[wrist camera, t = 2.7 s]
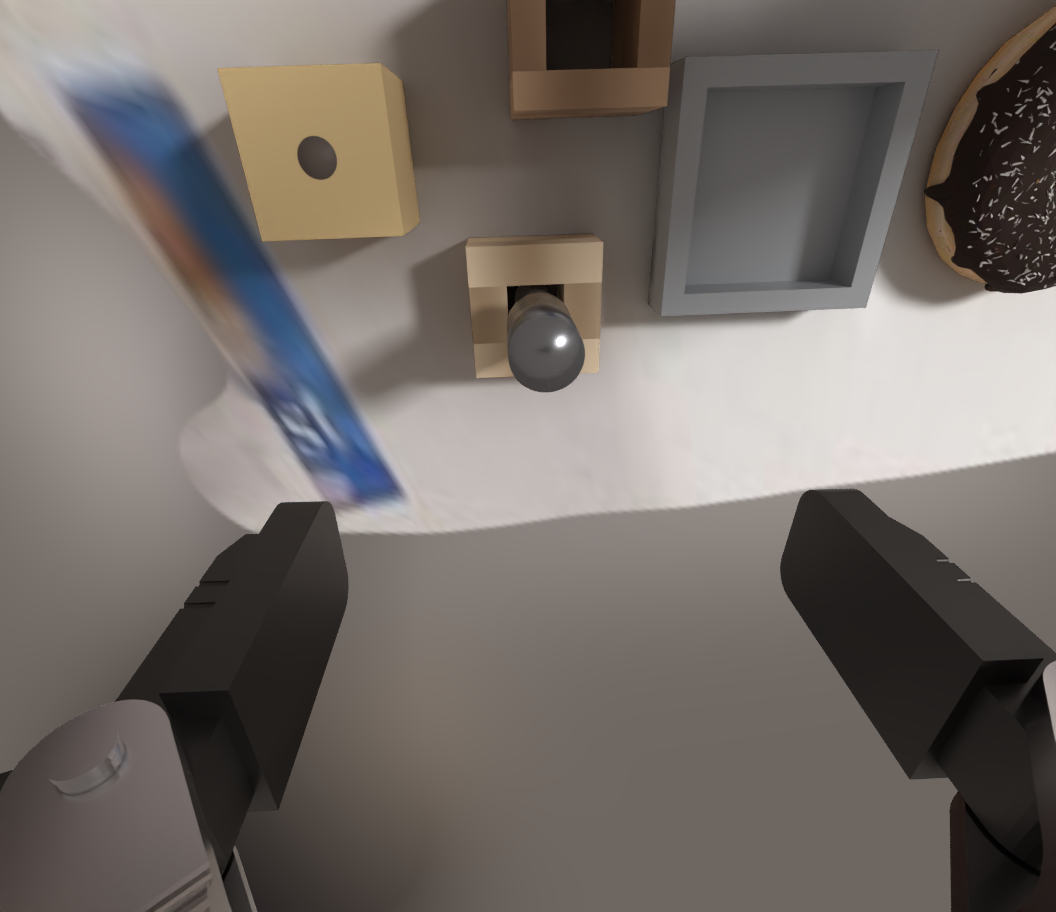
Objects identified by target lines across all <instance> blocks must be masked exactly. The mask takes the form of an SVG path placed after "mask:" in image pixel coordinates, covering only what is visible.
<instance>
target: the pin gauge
mask: <svg viewBox="0 0 1056 912" xmlns="http://www.w3.org/2000/svg"><path fill="white" fill-rule="evenodd" d="M507 345H508V360H509V366H510V369H511V371H512V373H513V375H514V377H515V378H516V379H517V380H518V381H519V382H520V383H521V384H522V385H524V386H525V387H527V388H529V389H531V390H534V391H538V392H553V391H557V390H560V389H562V388H564V387H566V386H568V385H569V384H570V383H572V382H573V381H574V380H575V379H576V378H577V376H578V375H579V373H580V371H581V370H582V367H583V364H584V360H585V348H584V344H583V340H582V338H581V336H580V334H579V332H578V330H577V328H576V325H575V323H574V321H573V319H572V317H571V315H570V313H569V310H568V308H567V307H566V305H565V304H564V303H563V302H562V301H561V300H560V299H559V298H557V297H555V296H553V295H551V294H549V291H548V289H547V288H546V286H545V285H522V286H520V287H519V288H518V289H517V291H516V294H515V304H514V306H513V307H512V308H511V310H510V312H509V315H508V318H507Z"/></svg>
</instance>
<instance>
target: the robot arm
mask: <svg viewBox="0 0 1056 912" xmlns="http://www.w3.org/2000/svg"><path fill="white" fill-rule="evenodd" d="M780 572H781V580H782V584H783V587H784V590H785V592H786V594H787V596H788V598H789V599H790V601H791V602H792V604H793V605H794V607H795V608H796V610H797V611H798V612H799V614H800V616H801V617H802V619H803V620H804V622H805V623H806V625H807V626H808V628H809V629H810V631H811V632H812V634H813V635H814V637H815V638H816V640H817V641H818V643H819V644H820V646H821V647H822V649H823V650H824V652H825V653H826V655H827V656H828V657H829V659H830V661H831V662H832V664H833V665H834V666H835V668H836V669H837V671H838V673H839V674H840V676H841V677H842V679H843V680H844V682H845V683H846V685H847V686H848V688H849V689H850V690H851V692H852V694H853V695H854V697H855V698H856V700H857V701H858V703H859V704H860V705H861V707H862V709H863V710H864V712H865V713H866V715H867V716H868V718H869V719H870V721H871V722H872V724H873V725H874V726H875V728H876V729H877V731H878V732H879V734H880V736H881V737H882V739H883V740H884V742H885V743H886V744H887V746H888V748H889V749H890V751H891V752H892V754H893V755H894V756H895V758H896V760H897V761H898V762H899V764H900V766H901V767H902V769H903V770H904V772H905V773H906V774H907V776H908V777H909V779H928V778H946V777H948V778H949V779H950V781H951V782H952V783H953V785H954V786H955V787H956V789H957V790H958V792H957V793H956V794H955V796H954V797H953V799H952V801H951V803H950V811H949V814H950V881H951V882H950V883H951V884H950V885H951V912H1056V653H1055V652H1054V651H1053V650H1052V649H1051V648H1050V647H1048V646H1047V645H1046V644H1045V643H1044V642H1043V641H1042V640H1041V639H1039V638H1038V637H1037V636H1036V635H1035V634H1034V633H1033V632H1031V631H1030V630H1029V629H1028V628H1027V627H1026V626H1025V625H1024V624H1022V623H1021V622H1020V621H1019V620H1018V619H1017V618H1016V617H1014V616H1013V615H1012V614H1011V613H1010V612H1009V611H1008V610H1006V609H1005V608H1004V607H1003V606H1002V605H1001V604H1000V603H999V602H997V601H996V600H995V599H994V598H993V597H992V596H991V595H990V594H988V593H987V592H986V591H985V590H984V589H983V588H982V587H980V586H979V585H978V584H977V583H971V581H970V577H969V576H968V575H967V574H966V573H965V572H963V571H962V570H961V569H960V568H959V567H958V566H957V565H955V564H954V563H949V561H948V558H947V557H946V556H945V555H944V554H943V553H942V552H941V551H940V550H939V549H937V548H936V547H935V546H934V545H933V544H932V543H931V542H929V541H928V540H927V539H926V538H925V537H924V536H923V535H921V534H919V533H917V532H915V531H913V530H912V529H910V528H908V527H906V526H905V525H903V524H901V523H899V522H897V521H896V520H894V519H892V518H890V517H888V516H887V515H886V514H885V513H884V512H883V511H882V510H881V509H880V508H879V507H877V506H876V505H875V504H874V503H873V502H872V501H871V500H870V499H869V498H868V497H867V496H865V495H864V494H863V493H862V492H861V491H859V490H857V489H825V490H808V491H806V492H805V493H804V494H803V495H802V496H801V498H800V500H799V503H798V506H797V510H796V513H795V516H794V519H793V523H792V526H791V529H790V532H789V536H788V539H787V542H786V546H785V549H784V552H783V555H782V559H781V566H780ZM347 599H348V573H347V568H346V564H345V559H344V555H343V549H342V545H341V540H340V535H339V531H338V526H337V521H336V516H335V512H334V509H333V507H332V505H331V503H330V502H328V501H323V502H285V503H280V504H278V505H277V507H276V508H275V509H274V511H273V513H272V514H271V516H270V517H269V519H268V520H267V522H266V524H265V525H264V527H263V528H262V530H261V531H260V533H259V534H246V535H244V536H243V537H241V538H240V539H239V540H238V541H236V542H235V543H234V544H232V545H231V546H230V547H228V548H227V549H226V550H225V551H223V552H222V553H221V554H219V555H218V556H217V557H216V559H215V560H214V561H213V563H212V564H211V566H210V567H209V569H208V570H207V571H206V573H205V574H204V576H203V577H202V579H201V580H200V585H199V587H195V589H194V590H193V591H192V593H191V594H190V596H189V597H188V598H187V600H186V601H185V603H184V609H180V610H179V611H178V613H177V614H176V615H175V617H174V618H173V620H172V621H171V623H170V624H169V625H168V627H167V628H166V630H165V631H164V633H163V634H162V636H161V637H160V639H159V640H158V641H157V643H156V644H155V645H154V647H153V648H152V650H151V651H150V653H149V654H148V655H147V657H146V658H145V660H144V661H143V662H142V664H141V665H140V667H139V668H138V670H137V671H136V673H135V674H134V675H133V677H132V678H131V680H130V681H129V682H128V684H127V685H126V687H125V688H124V690H123V691H122V693H121V694H120V695H119V697H118V698H117V699H116V701H115V702H113V703H108V704H105V705H102V706H98V707H96V708H93V709H91V710H89V711H86V712H84V713H82V714H80V715H78V716H76V717H74V718H73V719H71V720H69V721H67V722H66V723H64V724H62V725H61V726H59V727H58V728H56V729H55V730H53V731H52V732H51V733H49V734H48V735H47V736H45V737H44V738H43V739H42V740H40V741H39V742H38V743H37V744H36V745H35V746H34V747H33V748H32V749H30V750H29V751H28V753H27V754H26V755H25V756H24V757H23V758H22V759H21V760H20V761H19V762H18V764H17V765H16V766H15V768H14V769H13V770H11V771H8V772H4V773H1V774H0V912H257V910H256V907H255V904H254V901H253V898H252V895H251V892H250V888H249V885H248V882H247V879H246V876H245V873H244V870H243V867H242V864H241V861H240V858H239V854H238V851H237V849H236V847H235V843H236V840H237V838H238V835H239V832H240V830H241V827H242V825H243V822H244V819H245V817H246V814H247V812H255V811H274V810H279V807H280V804H281V801H282V798H283V795H284V792H285V789H286V786H287V783H288V780H289V777H290V774H291V771H292V768H293V765H294V762H295V759H296V756H297V753H298V750H299V747H300V744H301V741H302V738H303V735H304V732H305V729H306V726H307V723H308V720H309V717H310V714H311V711H312V708H313V705H314V702H315V699H316V696H317V693H318V690H319V687H320V684H321V681H322V678H323V675H324V672H325V669H326V666H327V663H328V660H329V657H330V654H331V651H332V648H333V645H334V642H335V639H336V636H337V633H338V630H339V627H340V624H341V621H342V618H343V615H344V612H345V609H346V605H347Z"/></svg>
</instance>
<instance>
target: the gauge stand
mask: <svg viewBox="0 0 1056 912" xmlns="http://www.w3.org/2000/svg"><path fill="white" fill-rule="evenodd" d="M465 248H466V260H467V273H468V285H469V297H470V309H471V321H472V334H473V346H474V358H475V370H476V378H490V377H512V376H514V375H513V373H512V371H511V369H510V366H509V360H508V345H507V318H508V303H507V286H522V285H547V284H558V298H559V299H560V300H561V301H562V302H563V303H564V304H565V305H566V307H567V308H568V310H569V313H570V315H571V317H572V319H573V321H574V323H575V325H576V328H577V330H578V332H579V334H580V336H581V338H582V340H583V344H584V348H585V360H584V364H583V367H582V370H581V371H580V373H598V371H599V345H600V319H601V293H602V267H603V241H602V240H600V239H599V238H598V237H597V236H595V235H594V234H593V233H590V234H563V235H537V236H510V237H484V238H469V239H468V241H467V244H466V247H465Z"/></svg>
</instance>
